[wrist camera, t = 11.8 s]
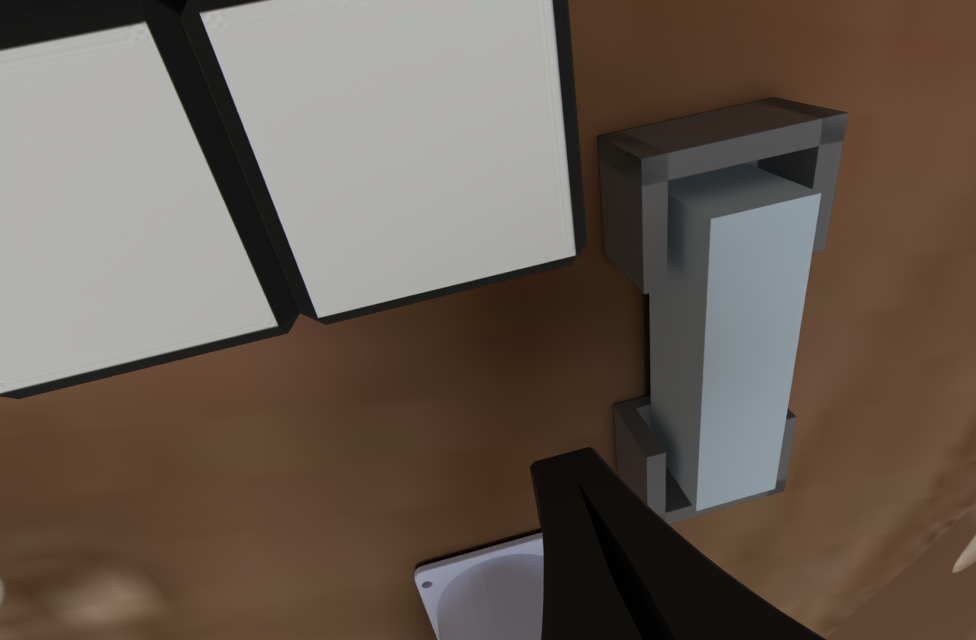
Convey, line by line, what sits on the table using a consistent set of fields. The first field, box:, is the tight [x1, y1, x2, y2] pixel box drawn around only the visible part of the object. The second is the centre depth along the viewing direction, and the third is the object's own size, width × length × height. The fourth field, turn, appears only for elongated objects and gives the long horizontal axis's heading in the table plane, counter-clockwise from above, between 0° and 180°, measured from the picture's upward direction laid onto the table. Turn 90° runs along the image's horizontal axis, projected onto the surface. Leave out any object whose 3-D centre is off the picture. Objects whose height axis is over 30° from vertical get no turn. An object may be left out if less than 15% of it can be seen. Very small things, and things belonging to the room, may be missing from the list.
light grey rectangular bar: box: [649, 163, 821, 511], centre depth 20 cm, size 12×3×4 cm, turn 9°
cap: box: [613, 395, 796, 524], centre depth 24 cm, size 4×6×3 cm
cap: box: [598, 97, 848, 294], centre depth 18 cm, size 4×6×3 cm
